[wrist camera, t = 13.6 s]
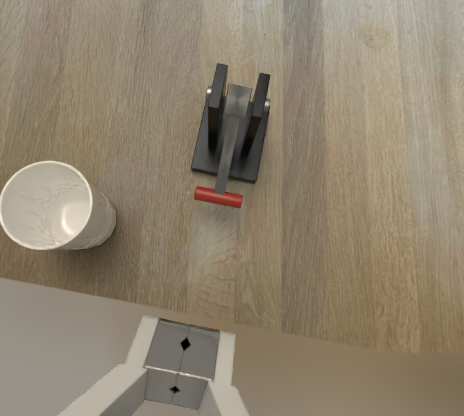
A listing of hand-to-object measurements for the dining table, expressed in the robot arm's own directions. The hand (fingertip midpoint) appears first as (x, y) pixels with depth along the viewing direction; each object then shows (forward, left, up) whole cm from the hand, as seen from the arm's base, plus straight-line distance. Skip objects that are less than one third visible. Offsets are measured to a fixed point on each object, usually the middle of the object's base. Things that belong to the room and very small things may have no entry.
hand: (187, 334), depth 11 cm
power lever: (+15, 0, -21) cm, 26 cm away
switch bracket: (+18, 0, -28) cm, 33 cm away
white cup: (+5, +15, -28) cm, 32 cm away
